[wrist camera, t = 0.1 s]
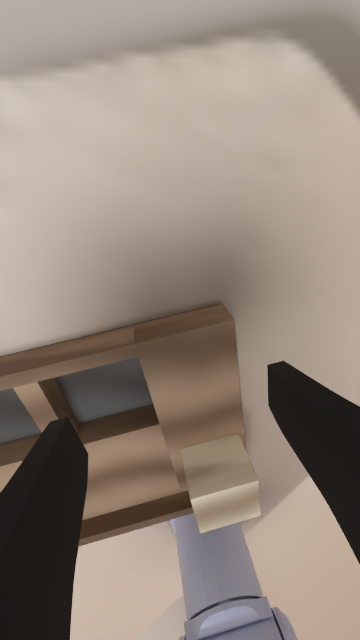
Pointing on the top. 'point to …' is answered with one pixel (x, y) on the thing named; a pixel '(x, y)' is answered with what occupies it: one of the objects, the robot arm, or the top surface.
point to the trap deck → (128, 411)
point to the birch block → (221, 483)
